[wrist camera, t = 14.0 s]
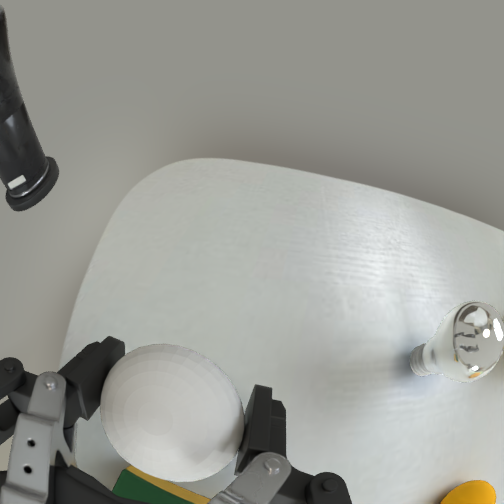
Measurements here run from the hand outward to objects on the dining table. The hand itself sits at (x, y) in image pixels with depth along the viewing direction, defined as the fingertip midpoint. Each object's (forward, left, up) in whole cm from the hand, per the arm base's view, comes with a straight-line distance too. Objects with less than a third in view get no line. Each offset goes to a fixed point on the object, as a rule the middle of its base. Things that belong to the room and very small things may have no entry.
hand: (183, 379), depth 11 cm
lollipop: (0, -2, -11) cm, 12 cm away
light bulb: (+19, +9, -12) cm, 24 cm away
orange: (+33, -8, -12) cm, 36 cm away
